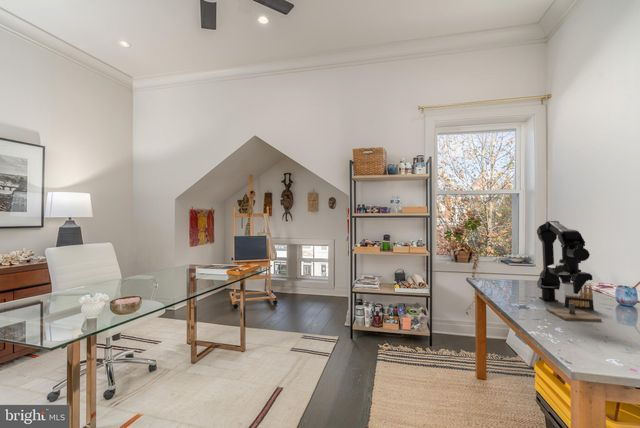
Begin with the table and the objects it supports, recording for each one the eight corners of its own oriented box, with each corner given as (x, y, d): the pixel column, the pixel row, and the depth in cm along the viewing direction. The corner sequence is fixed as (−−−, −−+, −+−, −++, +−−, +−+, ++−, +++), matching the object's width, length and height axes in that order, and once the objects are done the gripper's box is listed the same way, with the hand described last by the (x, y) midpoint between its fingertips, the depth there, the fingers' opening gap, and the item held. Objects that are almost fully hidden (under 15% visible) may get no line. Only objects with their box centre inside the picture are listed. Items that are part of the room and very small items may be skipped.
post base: (546, 310, 142) (545, 298, 142) (579, 311, 139) (578, 299, 139) (564, 320, 128) (564, 307, 128) (601, 321, 126) (601, 308, 126)
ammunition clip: (565, 307, 146) (564, 283, 146) (564, 306, 148) (563, 282, 148) (594, 310, 140) (593, 285, 140) (593, 309, 141) (592, 284, 142)
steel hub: (558, 292, 138) (558, 281, 138) (574, 292, 136) (574, 282, 137) (567, 296, 131) (567, 284, 131) (584, 296, 130) (583, 285, 130)
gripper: (539, 255, 145) (540, 286, 145) (563, 260, 126) (564, 296, 126) (564, 255, 143) (565, 287, 143) (592, 260, 124) (594, 297, 124)
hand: (571, 291), depth 134 cm, fingers closed on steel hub, 6 cm apart
